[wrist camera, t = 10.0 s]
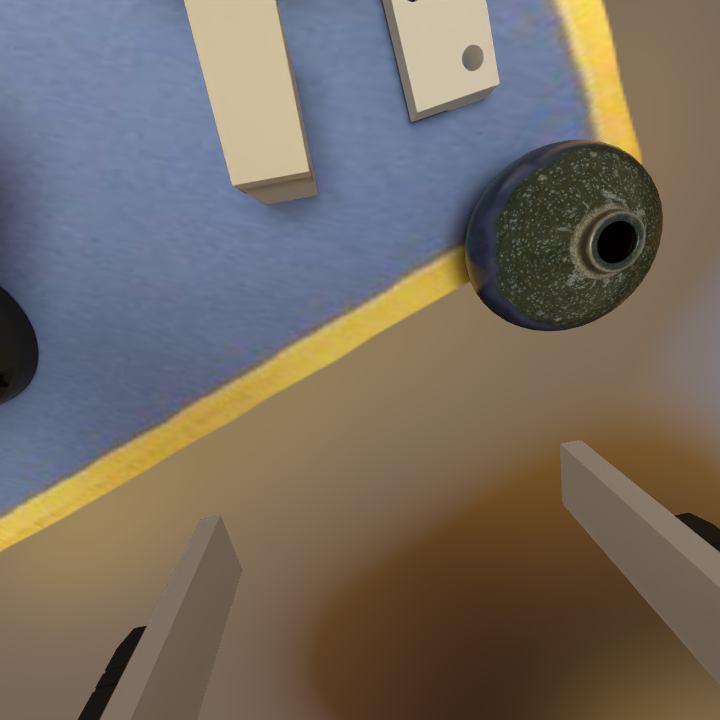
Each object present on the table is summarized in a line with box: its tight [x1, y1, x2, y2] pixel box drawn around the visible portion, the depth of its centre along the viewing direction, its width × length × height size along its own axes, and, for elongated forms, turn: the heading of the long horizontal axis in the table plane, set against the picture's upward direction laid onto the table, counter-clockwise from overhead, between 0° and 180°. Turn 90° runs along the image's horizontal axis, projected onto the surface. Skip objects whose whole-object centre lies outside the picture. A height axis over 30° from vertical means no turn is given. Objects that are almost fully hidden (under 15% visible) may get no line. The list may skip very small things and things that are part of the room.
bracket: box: [382, 0, 499, 122], centre depth 28 cm, size 13×7×8 cm, turn 18°
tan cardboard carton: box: [184, 0, 318, 205], centre depth 27 cm, size 5×10×12 cm, turn 10°
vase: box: [464, 140, 663, 331], centre depth 31 cm, size 15×15×13 cm
